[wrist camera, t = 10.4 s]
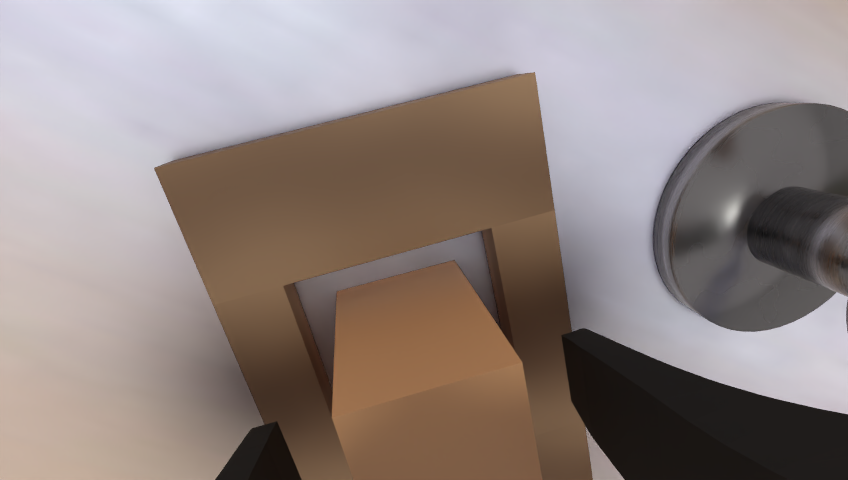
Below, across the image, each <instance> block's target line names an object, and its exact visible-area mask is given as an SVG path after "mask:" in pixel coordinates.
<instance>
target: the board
mask: <svg viewBox="0 0 848 480" xmlns="http://www.w3.org/2000/svg"><path fill="white" fill-rule="evenodd" d="M154 169H155V171H156V174H157V176H158V178H159V181H160V183H161V185H162V188H163V190H164V192H165V195H166V197H167V199H168V202H169V204H170V206H171V209H172V211H173V213H174V215H175V218H176V220H177V222H178V225H179V227H180V229H181V232H182V234H183V236H184V239H185V241H186V243H187V246H188V248H189V250H190V253H191V255H192V257H193V260H194V262H195V264H196V266H197V269H198V271H199V273H200V276H201V278H202V280H203V283H204V285H205V287H206V290H207V292H208V294H209V297H210V299H211V301H212V304H213V306H214V308H215V310H216V313H217V315H218V317H219V320H220V322H221V324H222V327H223V329H224V331H225V334H226V336H227V338H228V341H229V343H230V345H231V348H232V350H233V352H234V354H235V357H236V359H237V361H238V364H239V366H240V368H241V371H242V373H243V375H244V378H245V380H246V382H247V385H248V387H249V389H250V392H251V394H252V396H253V398H254V401H255V403H256V405H257V408H258V410H259V412H260V415H261V417H262V419H263V422H264V424H265V425H266V424H269V423H272V422H275V421H277V422H278V424H279V427H280V429H281V432H282V434H283V436H284V439H285V441H286V443H287V446H288V448H289V451H290V453H291V455H292V458H293V460H294V463H295V465H296V467H297V470H298V472H299V475H300V477H301V479H302V480H353V477H352V474H351V471H350V469H349V466H348V463H347V460H346V457H345V454H344V451H343V449H342V446H341V443H340V440H339V437H338V434H337V431H336V428H335V426H334V423H333V420H332V399H333V391H332V389H331V386H330V383H329V380H328V377H327V375H326V372H325V369H324V366H323V363H322V361H321V358H320V355H319V352H318V350H317V347H316V344H315V341H314V338H313V336H312V333H311V330H310V327H309V325H308V322H307V319H306V316H305V313H304V311H303V308H302V305H301V302H300V299H299V297H298V294H297V291H296V288H295V286H294V283H295V282H298V281H302V280H306V279H309V278H313V277H316V276H320V275H324V274H327V273H331V272H334V271H338V270H341V269H345V268H349V267H352V266H356V265H359V264H363V263H367V262H370V261H374V260H377V259H381V258H385V257H388V256H392V255H395V254H399V253H403V252H406V251H410V250H413V249H417V248H421V247H424V246H428V245H431V244H435V243H439V242H442V241H446V240H449V239H453V238H456V237H460V236H464V235H467V234H471V233H474V232H478V231H482V235H483V240H484V245H485V250H486V255H487V260H488V265H489V270H490V275H491V280H492V285H493V290H494V295H495V300H496V305H497V310H498V315H499V320H500V325H501V330H502V333H503V334H504V336H505V337H506V339H507V340H508V342H509V343H510V345H511V346H512V348H513V349H514V351H515V352H516V354H517V355H518V357H519V358H520V360H521V361H522V364H523V369H524V375H525V381H526V387H527V393H528V399H529V405H530V410H531V416H532V422H533V428H534V434H535V440H536V445H537V451H538V457H539V463H540V469H541V475H542V480H593V478H592V471H591V464H590V457H589V450H588V443H587V436H586V429H585V424H584V422H583V421H582V419H581V417H580V416H579V414H578V412H577V410H576V409H575V407H574V405H573V403H572V402H571V396H570V390H569V383H568V377H567V370H566V363H565V357H564V350H563V343H562V337H561V335H563V334H567V333H570V332H572V330H571V323H570V316H569V309H568V302H567V295H566V288H565V281H564V274H563V266H562V259H561V252H560V245H559V238H558V231H557V224H556V217H555V210H554V203H553V196H552V189H551V182H550V175H549V168H548V161H547V154H546V147H545V139H544V132H543V125H542V118H541V111H540V104H539V97H538V90H537V83H536V76H535V72H534V73H525V74H517V75H513V76H509V77H505V78H501V79H497V80H493V81H489V82H485V83H481V84H477V85H473V86H469V87H465V88H461V89H457V90H453V91H449V92H445V93H441V94H437V95H433V96H429V97H425V98H421V99H417V100H413V101H409V102H405V103H401V104H397V105H393V106H389V107H385V108H381V109H377V110H373V111H369V112H365V113H361V114H357V115H353V116H349V117H345V118H341V119H337V120H333V121H329V122H325V123H321V124H317V125H313V126H309V127H305V128H301V129H297V130H293V131H289V132H285V133H281V134H278V135H274V136H270V137H266V138H262V139H258V140H254V141H250V142H246V143H242V144H238V145H234V146H230V147H226V148H222V149H218V150H214V151H210V152H206V153H202V154H198V155H194V156H190V157H186V158H182V159H178V160H174V161H171V162H168V163H166V164H163V165H161V166H158V167H155V168H154Z"/></svg>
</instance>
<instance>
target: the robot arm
mask: <svg viewBox="0 0 848 480" xmlns="http://www.w3.org/2000/svg"><path fill="white" fill-rule="evenodd" d="M561 337H562V343H563V350H564V357H565V363H566V370H567V377H568V383H569V390H570V396H571V402H572V403H573V405H574V407H575V409H576V410H577V412H578V414H579V416H580V417H581V419H582V421H583V422H584V424H585V426H586V427H587V429H588V431H589V432H590V434H591V436H592V437H593V439H594V440H595V441H596V443H597V444H598V445H599V447H600V448H601V449H602V451H603V452H604V453H605V455H606V456H607V457H608V458H609V460H610V461H611V462H612V464H613V465H614V466H615V468H616V469H617V470H618V472H619V473H620V474H621V475H622V477H623V478H624V479H625V480H848V414H843V413H837V412H832V411H827V410H822V409H817V408H813V407H808V406H804V405H799V404H795V403H791V402H786V401H782V400H778V399H774V398H770V397H766V396H762V395H758V394H755V393H752V392H748V391H745V390H741V389H738V388H735V387H731V386H728V385H724V384H721V383H718V382H715V381H712V380H709V379H706V378H704V377H701V376H698V375H695V374H693V373H690V372H687V371H684V370H682V369H679V368H676V367H674V366H671V365H669V364H666V363H664V362H661V361H659V360H656V359H654V358H651V357H649V356H647V355H644V354H642V353H640V352H637V351H635V350H633V349H631V348H628V347H626V346H624V345H622V344H619V343H617V342H615V341H613V340H610V339H608V338H606V337H604V336H601V335H599V334H597V333H595V332H592V331H590V330H587V329H585V328H583V329H580V330H577V331H573V332H570V333H567V334H563V335H561ZM215 480H302V479H301V477H300V475H299V472H298V470H297V467H296V465H295V463H294V460H293V458H292V455H291V453H290V451H289V448H288V446H287V443H286V441H285V439H284V436H283V434H282V432H281V429H280V427H279V424H278V422H277V421H275V422H272V423H269V424H266V425H262V426H259V427H256V428H252V429H251V430H250V432H249V433H248V434H247V436H246V437H245V438H244V440H243V441H242V443H241V444H240V445H239V447H238V448H237V450H236V451H235V452H234V454H233V455H232V457H231V458H230V460H229V461H228V463H227V464H226V465H225V467H224V468H223V470H222V471H221V472H220V474H219V475H218V477H217V478H216V479H215Z"/></svg>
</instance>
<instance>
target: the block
mask: <svg viewBox="0 0 848 480" xmlns="http://www.w3.org/2000/svg"><path fill="white" fill-rule="evenodd" d="M332 420H333V423H334V426H335V428H336V431H337V434H338V437H339V440H340V443H341V446H342V449H343V451H344V454H345V457H346V460H347V463H348V466H349V469H350V471H351V474H352V477H353V480H542V475H541V469H540V463H539V457H538V451H537V445H536V440H535V434H534V428H533V422H532V416H531V410H530V405H529V399H528V393H527V387H526V381H525V375H524V369H523V364H522V361H521V360H520V358H519V357H518V355H517V354H516V352H515V351H514V349H513V348H512V346H511V345H510V343H509V342H508V340H507V339H506V337H505V336H504V334H503V333H502V331H501V329H500V328H499V326H498V325H497V323H496V322H495V320H494V319H493V317H492V316H491V314H490V313H489V311H488V310H487V308H486V307H485V305H484V304H483V302H482V301H481V299H480V298H479V296H478V295H477V293H476V292H475V290H474V289H473V287H472V286H471V284H470V283H469V281H468V280H467V278H466V277H465V275H464V274H463V272H462V271H461V269H460V268H459V266H458V265H457V263H456V262H455V260H453V261H449V262H445V263H441V264H438V265H434V266H430V267H426V268H423V269H419V270H415V271H411V272H408V273H404V274H400V275H397V276H393V277H389V278H385V279H382V280H378V281H374V282H370V283H367V284H363V285H359V286H355V287H352V288H348V289H344V290H341V291H337V298H336V323H335V349H334V374H333V399H332Z"/></svg>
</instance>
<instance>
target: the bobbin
mask: <svg viewBox="0 0 848 480" xmlns="http://www.w3.org/2000/svg"><path fill="white" fill-rule="evenodd" d="M654 251H655V258H656V263H657V266H658V270H659V273H660V275H661V277H662V279H663V281H664V283H665V285H666V286H667V288H668V289H669V291H670V292H671V293H672V294H673V295H674V296H675V298H676V299H677V300H678V301H680V302H681V303H682V304H684V305H685V306H686V307H688V308H690V309H691V310H693V311H694V312H696V313H698V314H699V315H701V316H702V317H704V318H706V319H707V320H709V321H711V322H713V323H715V324H717V325H719V326H721V327H724V328H727V329H730V330H736V331H751V332H755V331H763V330H769V329H773V328H777V327H781V326H783V325H786V324H789V323H791V322H794V321H796V320H798V319H800V318H802V317H804V316H806V315H807V314H809V313H810V312H812V311H814V310H815V309H817V308H818V307H820V306H821V305H822V304H823V303H825V302H826V301H827V300H829V299H830V298H831V297H832V296H833V295H834V294H835V293H836V292H838V293H840V294H843V295H845V296H848V111H846V110H844V109H841V108H838V107H835V106H831V105H825V104H816V103H770V104H765V105H760V106H755V107H753V108H750V109H747V110H744V111H741V112H739V113H737V114H735V115H733V116H731V117H729V118H727V119H726V120H724V121H723V122H721V123H720V124H718V125H717V126H715V127H714V128H713V129H711V130H710V131H709V132H708V133H706V134H705V135H704V136H703V137H702V138H701V139H700V140H699V141H698V142H697V143H696V144H695V145H694V146H693V147H692V148H691V149H690V150H689V152H688V153H687V154H686V155H685V157H684V158H683V159H682V160H681V162H680V163H679V165H678V166H677V168H676V170H675V171H674V173H673V174H672V176H671V178H670V180H669V182H668V184H667V186H666V188H665V190H664V193H663V196H662V198H661V201H660V204H659V208H658V212H657V216H656V221H655V229H654ZM846 323H847V331H848V302H847V311H846Z"/></svg>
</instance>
